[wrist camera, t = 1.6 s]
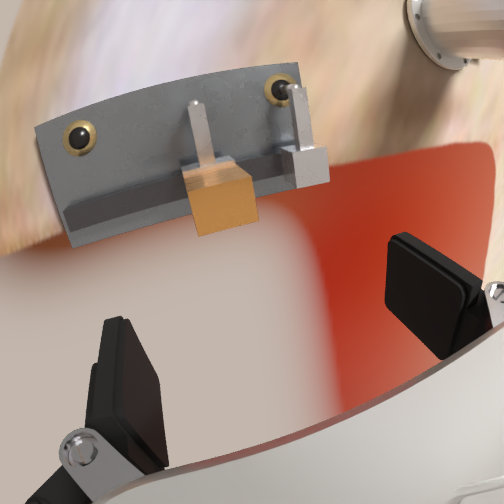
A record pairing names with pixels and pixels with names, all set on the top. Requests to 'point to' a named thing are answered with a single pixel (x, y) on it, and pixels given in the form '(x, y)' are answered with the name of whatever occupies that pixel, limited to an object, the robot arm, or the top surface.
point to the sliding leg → (216, 182)
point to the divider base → (176, 147)
